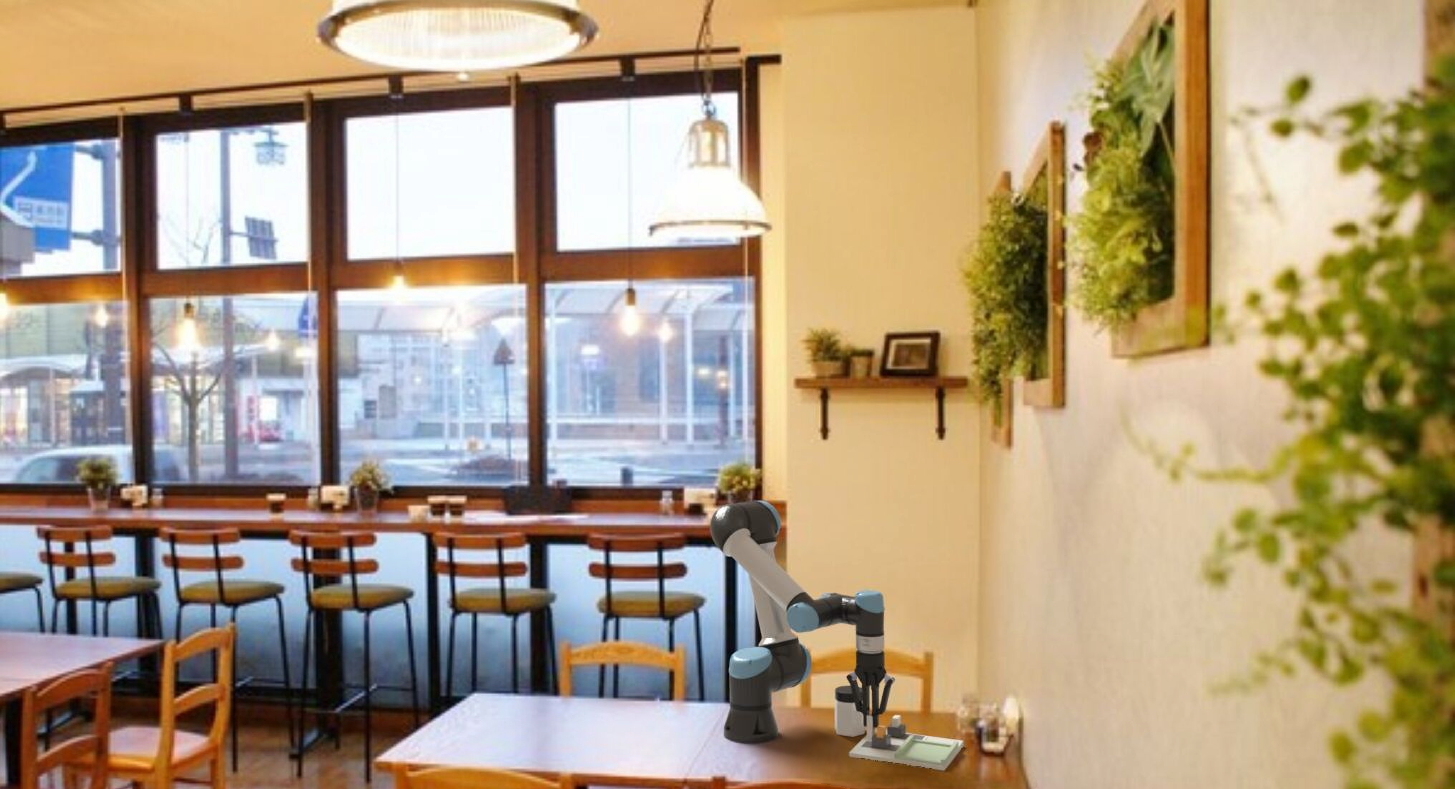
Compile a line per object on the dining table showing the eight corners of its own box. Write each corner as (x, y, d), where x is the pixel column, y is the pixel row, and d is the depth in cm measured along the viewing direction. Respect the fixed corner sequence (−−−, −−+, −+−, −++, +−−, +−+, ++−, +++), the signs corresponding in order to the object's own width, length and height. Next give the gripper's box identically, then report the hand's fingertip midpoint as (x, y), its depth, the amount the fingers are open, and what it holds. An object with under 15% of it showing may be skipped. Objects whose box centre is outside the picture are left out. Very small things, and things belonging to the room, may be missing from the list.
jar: (846, 738, 295) (846, 695, 294) (828, 730, 301) (828, 688, 301) (871, 732, 300) (871, 690, 299) (852, 725, 306) (852, 683, 306)
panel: (849, 758, 280) (848, 746, 280) (873, 733, 299) (873, 722, 299) (944, 772, 269) (944, 760, 269) (963, 746, 288) (963, 735, 288)
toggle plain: (887, 735, 292) (887, 717, 292) (891, 731, 295) (891, 713, 295) (901, 737, 290) (901, 719, 290) (905, 733, 294) (905, 715, 294)
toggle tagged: (871, 746, 283) (871, 728, 283) (876, 742, 287) (876, 723, 287) (886, 748, 282) (886, 730, 281) (890, 744, 285) (890, 725, 285)
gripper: (842, 650, 284) (843, 739, 285) (889, 655, 279) (890, 746, 279) (851, 644, 291) (852, 731, 291) (898, 649, 286) (899, 737, 286)
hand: (871, 738), depth 285 cm, fingers closed
